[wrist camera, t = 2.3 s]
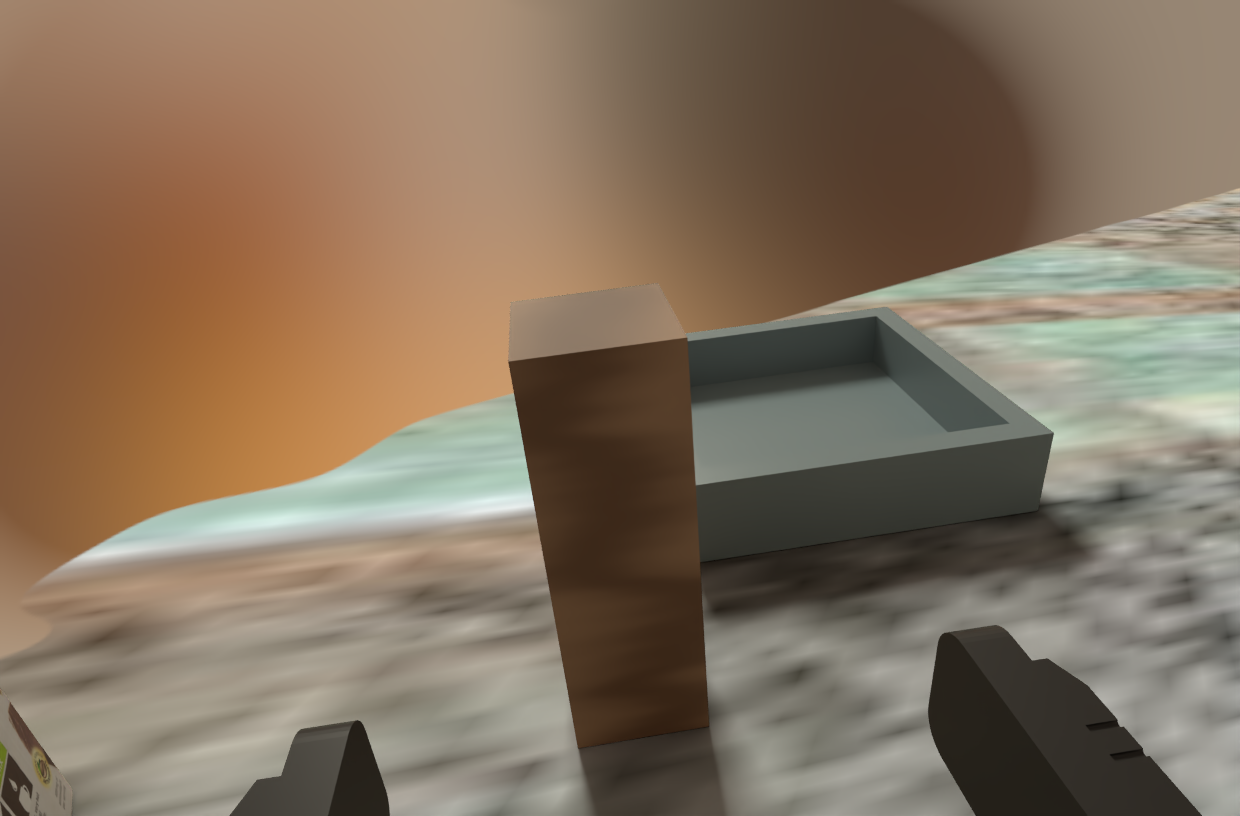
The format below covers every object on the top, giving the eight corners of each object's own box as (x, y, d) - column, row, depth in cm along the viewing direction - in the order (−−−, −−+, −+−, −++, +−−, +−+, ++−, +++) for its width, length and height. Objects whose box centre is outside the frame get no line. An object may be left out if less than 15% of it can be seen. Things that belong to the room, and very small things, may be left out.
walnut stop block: (683, 631, 28) (657, 283, 22) (708, 726, 25) (687, 337, 18) (570, 649, 28) (510, 302, 22) (578, 748, 24) (508, 361, 18)
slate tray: (882, 366, 47) (886, 306, 45) (1037, 510, 33) (1054, 432, 31) (634, 400, 46) (628, 341, 44) (684, 564, 32) (679, 487, 30)
